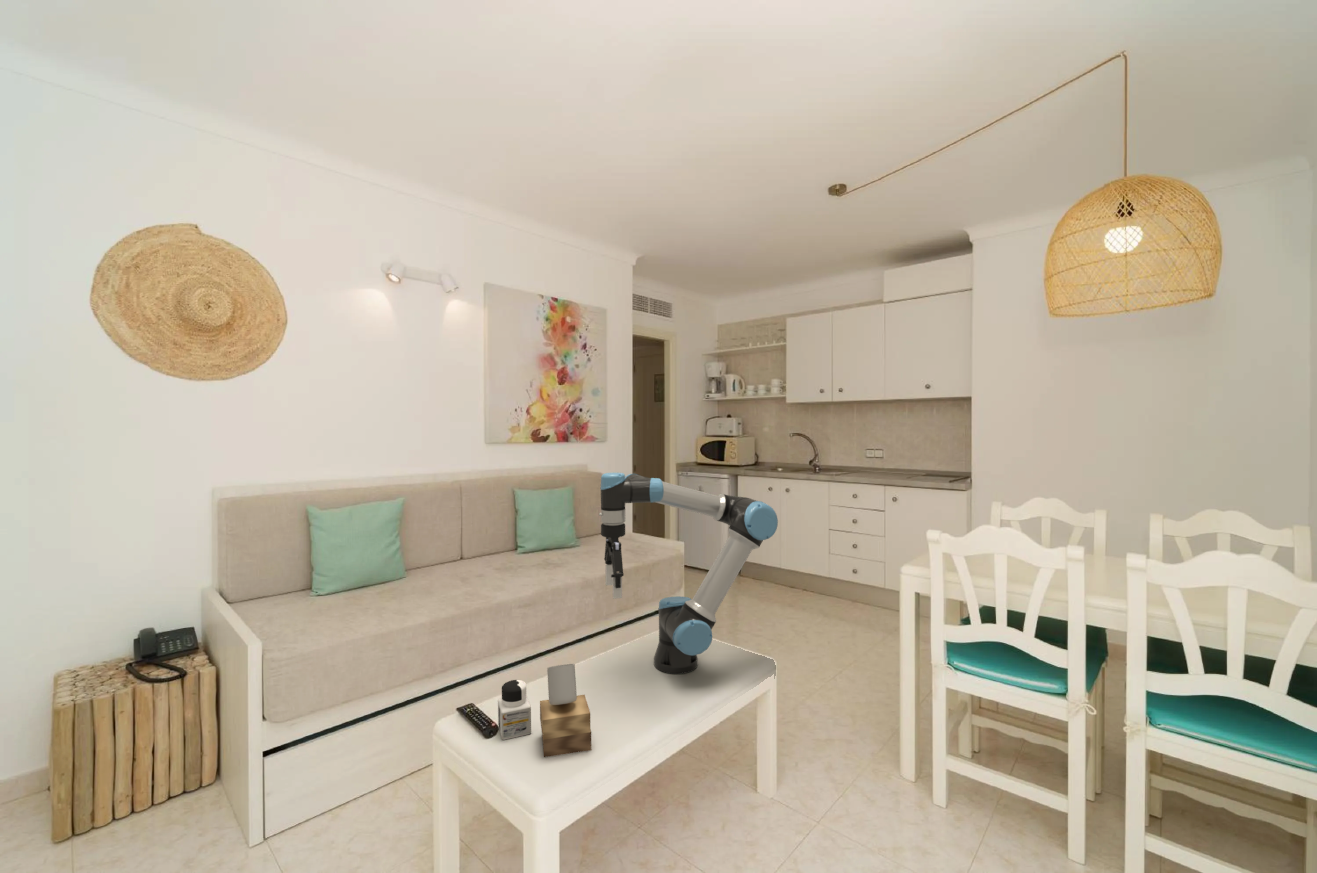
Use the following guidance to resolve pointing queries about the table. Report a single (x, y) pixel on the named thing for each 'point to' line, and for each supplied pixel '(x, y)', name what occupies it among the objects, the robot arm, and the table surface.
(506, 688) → the container
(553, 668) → the cup
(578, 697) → the slab upper
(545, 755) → the slab lower
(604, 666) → the table surface
